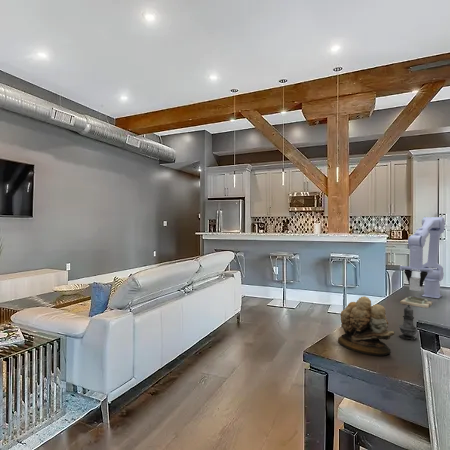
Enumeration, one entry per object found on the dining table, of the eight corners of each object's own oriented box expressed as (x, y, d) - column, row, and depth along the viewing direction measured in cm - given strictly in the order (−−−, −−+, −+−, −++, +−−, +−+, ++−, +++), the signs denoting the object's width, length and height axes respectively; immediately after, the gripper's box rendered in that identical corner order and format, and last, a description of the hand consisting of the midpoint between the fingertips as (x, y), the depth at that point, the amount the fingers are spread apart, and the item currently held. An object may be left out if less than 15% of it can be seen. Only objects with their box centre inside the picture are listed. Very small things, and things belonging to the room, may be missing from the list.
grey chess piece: (395, 334, 120) (395, 302, 119) (410, 334, 120) (411, 302, 120) (405, 340, 114) (406, 306, 113) (421, 340, 114) (422, 306, 114)
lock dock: (406, 299, 173) (406, 295, 173) (432, 303, 164) (432, 299, 164) (400, 303, 165) (400, 298, 165) (427, 308, 156) (427, 303, 156)
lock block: (411, 288, 169) (412, 277, 169) (421, 289, 166) (421, 278, 166) (409, 289, 166) (409, 278, 166) (419, 291, 163) (419, 279, 162)
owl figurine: (400, 351, 105) (401, 298, 105) (385, 361, 97) (386, 305, 97) (347, 335, 118) (348, 288, 118) (330, 344, 110) (331, 294, 110)
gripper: (398, 258, 168) (397, 284, 168) (430, 260, 158) (430, 288, 158) (402, 257, 173) (401, 282, 173) (434, 259, 163) (433, 286, 163)
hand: (415, 285), depth 166 cm, fingers closed on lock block, 4 cm apart
